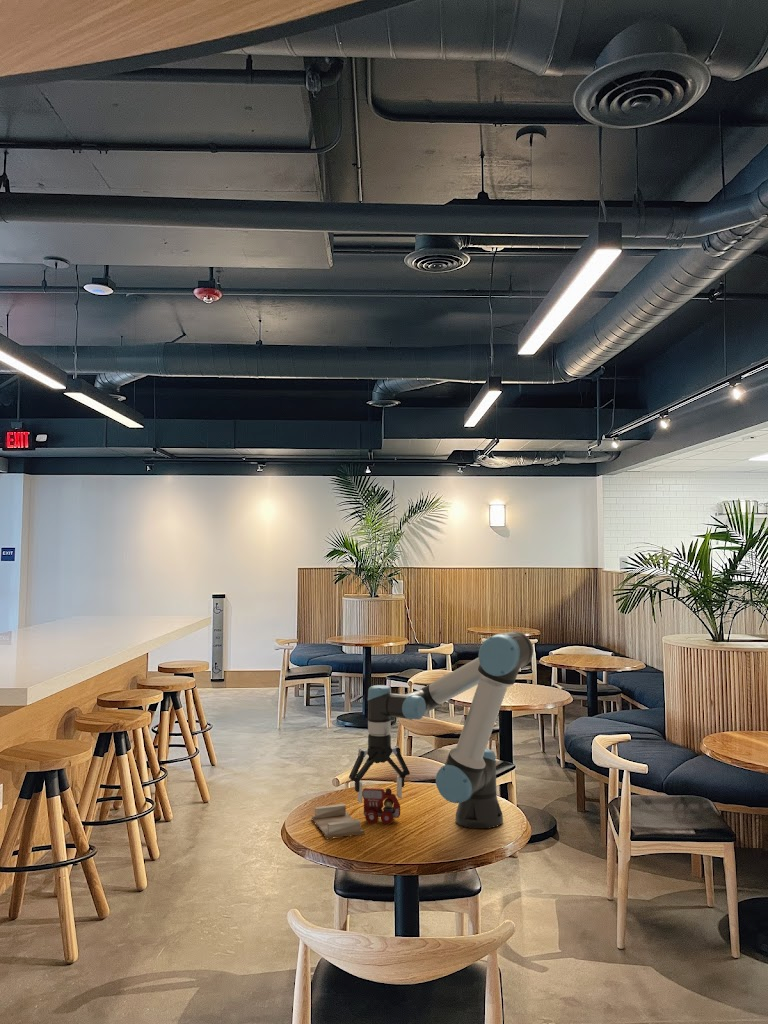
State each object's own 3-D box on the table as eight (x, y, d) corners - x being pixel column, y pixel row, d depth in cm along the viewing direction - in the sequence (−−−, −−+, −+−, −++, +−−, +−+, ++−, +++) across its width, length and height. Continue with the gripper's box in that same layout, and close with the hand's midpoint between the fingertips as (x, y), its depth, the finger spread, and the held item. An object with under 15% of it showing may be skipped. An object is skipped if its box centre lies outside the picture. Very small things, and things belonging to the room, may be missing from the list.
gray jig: (364, 834, 238) (363, 821, 238) (326, 839, 234) (326, 826, 234) (346, 815, 256) (346, 802, 257) (311, 819, 253) (311, 807, 253)
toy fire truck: (398, 825, 245) (397, 792, 246) (360, 823, 248) (360, 791, 248) (401, 818, 252) (401, 786, 253) (365, 817, 254) (364, 785, 255)
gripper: (410, 728, 260) (411, 792, 258) (339, 734, 252) (340, 799, 250) (418, 733, 252) (419, 798, 251) (346, 739, 244) (346, 806, 243)
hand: (379, 799), depth 251 cm, fingers open, 13 cm apart
